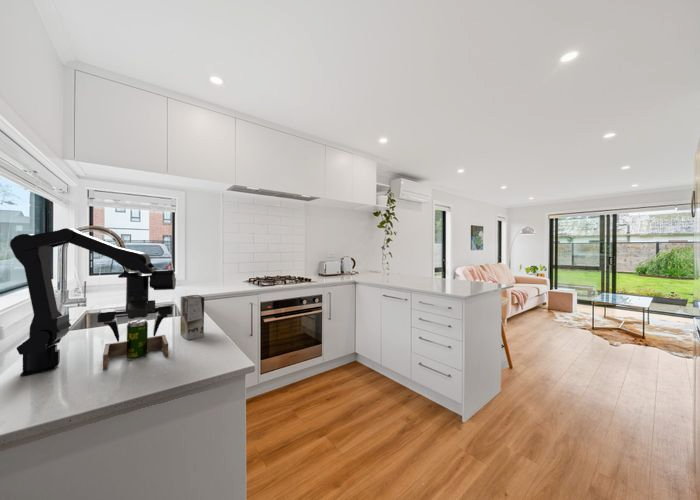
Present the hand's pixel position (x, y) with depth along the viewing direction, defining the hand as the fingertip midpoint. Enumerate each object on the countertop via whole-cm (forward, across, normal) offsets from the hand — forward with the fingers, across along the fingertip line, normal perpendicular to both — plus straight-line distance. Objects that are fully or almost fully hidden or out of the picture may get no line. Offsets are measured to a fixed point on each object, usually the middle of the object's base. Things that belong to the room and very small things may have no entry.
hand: (136, 338), depth 88 cm
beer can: (+6, 0, 0) cm, 7 cm away
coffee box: (+6, +18, +14) cm, 24 cm away
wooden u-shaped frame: (+6, 0, 0) cm, 6 cm away
